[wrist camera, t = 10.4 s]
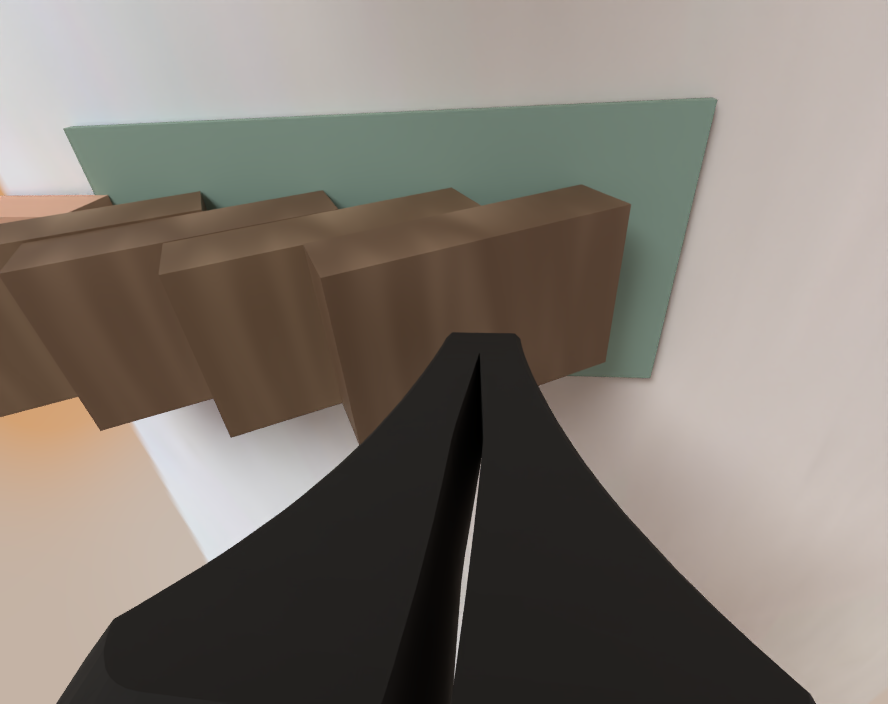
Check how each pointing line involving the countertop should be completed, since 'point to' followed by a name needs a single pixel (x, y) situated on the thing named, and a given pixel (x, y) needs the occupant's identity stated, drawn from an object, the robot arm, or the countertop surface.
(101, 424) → the domino
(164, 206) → the domino
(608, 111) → the mat
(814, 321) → the countertop surface
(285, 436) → the countertop surface
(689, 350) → the countertop surface
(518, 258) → the domino
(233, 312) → the domino
